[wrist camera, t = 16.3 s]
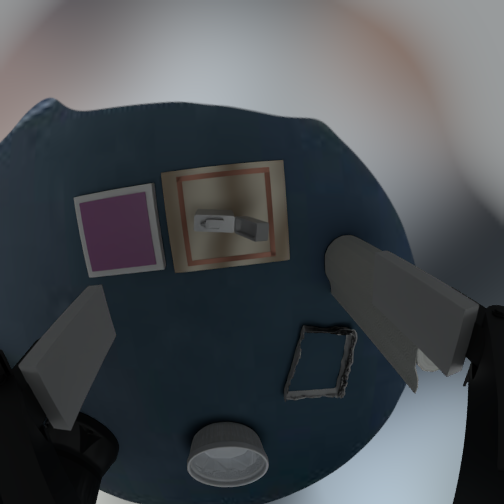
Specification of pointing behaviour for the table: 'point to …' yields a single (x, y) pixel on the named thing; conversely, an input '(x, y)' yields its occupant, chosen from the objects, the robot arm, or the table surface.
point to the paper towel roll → (370, 305)
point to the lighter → (230, 224)
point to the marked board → (226, 198)
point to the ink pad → (120, 231)
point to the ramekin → (227, 455)
